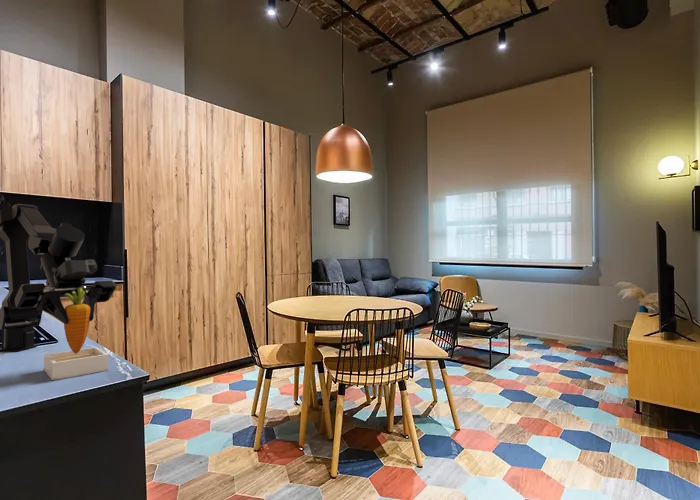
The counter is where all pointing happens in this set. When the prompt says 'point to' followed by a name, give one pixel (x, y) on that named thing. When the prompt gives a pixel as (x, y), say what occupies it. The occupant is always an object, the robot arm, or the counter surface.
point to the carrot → (77, 321)
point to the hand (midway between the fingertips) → (79, 321)
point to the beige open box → (75, 363)
